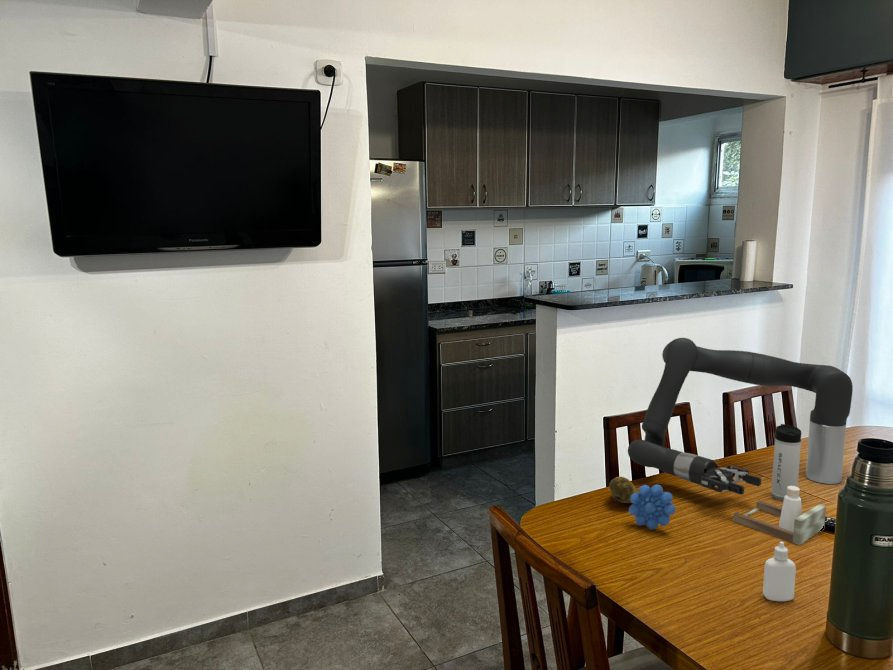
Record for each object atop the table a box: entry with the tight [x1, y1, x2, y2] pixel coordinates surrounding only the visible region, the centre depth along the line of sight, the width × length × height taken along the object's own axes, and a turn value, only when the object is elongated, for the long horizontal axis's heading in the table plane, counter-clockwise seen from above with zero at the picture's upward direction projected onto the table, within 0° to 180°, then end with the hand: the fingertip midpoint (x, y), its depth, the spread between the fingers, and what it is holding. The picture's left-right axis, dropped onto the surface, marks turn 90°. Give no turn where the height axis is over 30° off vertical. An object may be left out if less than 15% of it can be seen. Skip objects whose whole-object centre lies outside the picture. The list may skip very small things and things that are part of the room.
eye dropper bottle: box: [762, 541, 797, 602], centre depth 136 cm, size 4×6×12 cm
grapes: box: [628, 484, 676, 530], centre depth 167 cm, size 12×7×12 cm, turn 53°
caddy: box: [732, 499, 827, 546], centre depth 168 cm, size 13×16×6 cm
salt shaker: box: [778, 486, 803, 532], centre depth 165 cm, size 5×5×11 cm
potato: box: [608, 476, 638, 504], centre depth 183 cm, size 8×13×8 cm, turn 141°
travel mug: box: [770, 423, 802, 502], centre depth 183 cm, size 6×7×20 cm
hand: (752, 486), depth 172 cm, fingers open, 8 cm apart
